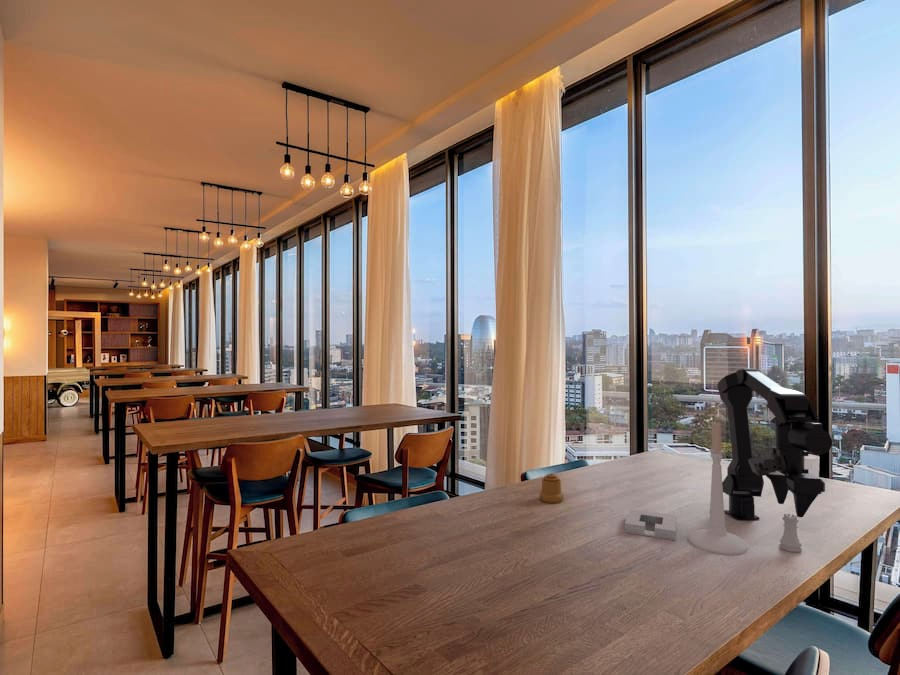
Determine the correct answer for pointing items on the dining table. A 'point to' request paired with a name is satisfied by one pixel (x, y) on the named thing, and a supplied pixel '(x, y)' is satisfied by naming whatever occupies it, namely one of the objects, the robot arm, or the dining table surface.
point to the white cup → (812, 464)
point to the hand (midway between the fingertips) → (790, 510)
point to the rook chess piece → (790, 534)
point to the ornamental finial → (551, 489)
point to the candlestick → (717, 510)
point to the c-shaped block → (651, 524)
